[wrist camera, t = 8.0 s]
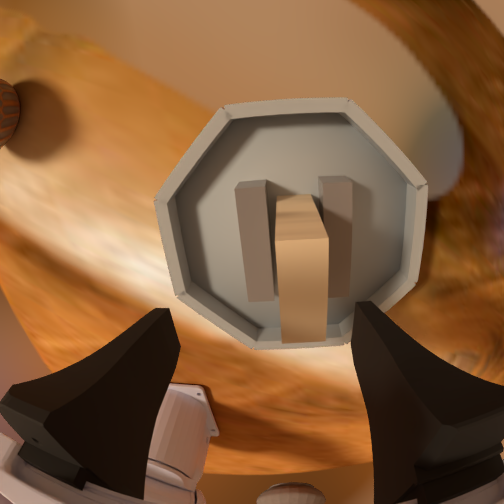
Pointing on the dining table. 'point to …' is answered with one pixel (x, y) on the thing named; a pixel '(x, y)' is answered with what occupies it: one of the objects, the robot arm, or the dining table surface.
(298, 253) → the pine wood chunk
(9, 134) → the vase
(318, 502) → the coffee pot
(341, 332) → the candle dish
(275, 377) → the dining table surface
